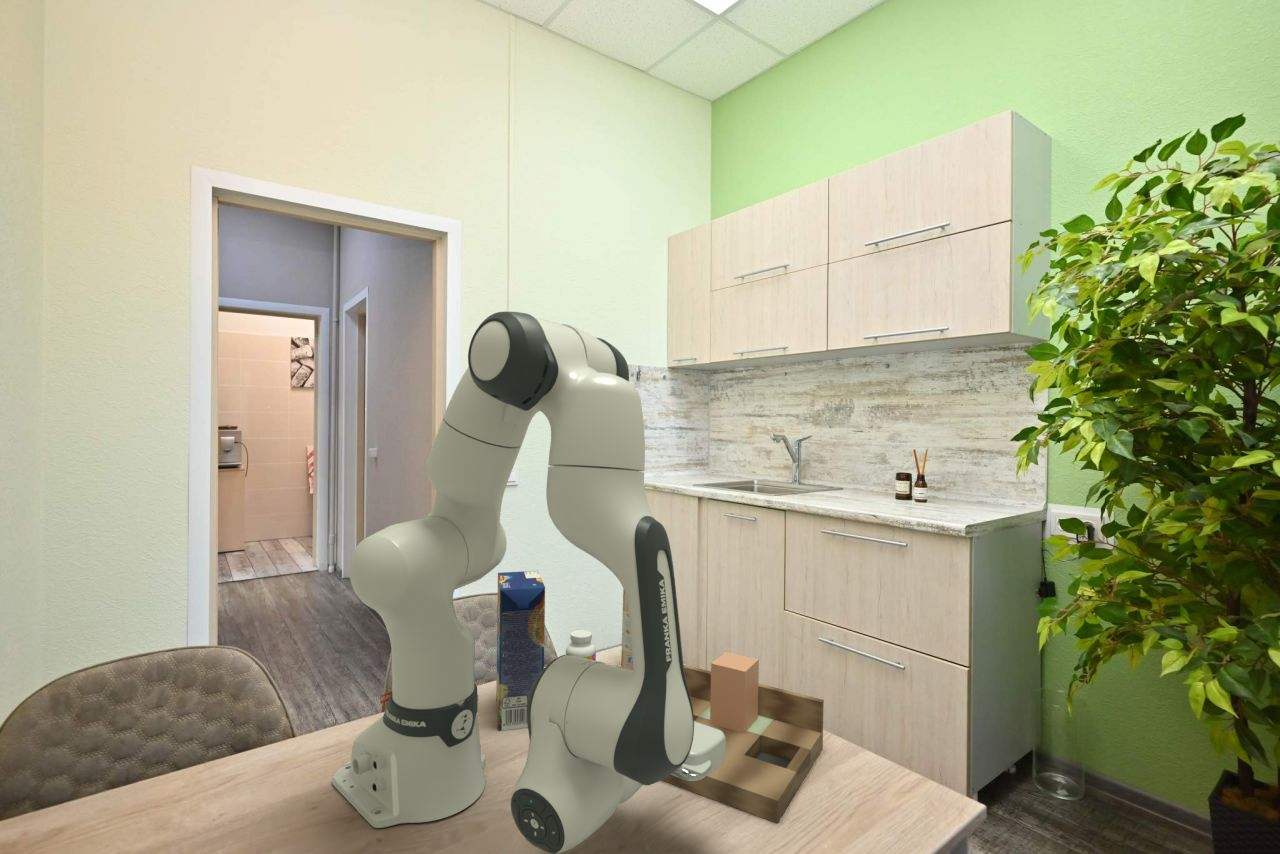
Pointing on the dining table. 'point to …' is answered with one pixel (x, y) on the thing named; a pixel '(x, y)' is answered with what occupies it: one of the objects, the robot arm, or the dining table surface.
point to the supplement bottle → (581, 645)
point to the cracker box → (626, 637)
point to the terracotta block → (734, 692)
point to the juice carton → (518, 644)
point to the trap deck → (759, 749)
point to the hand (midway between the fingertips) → (675, 707)
